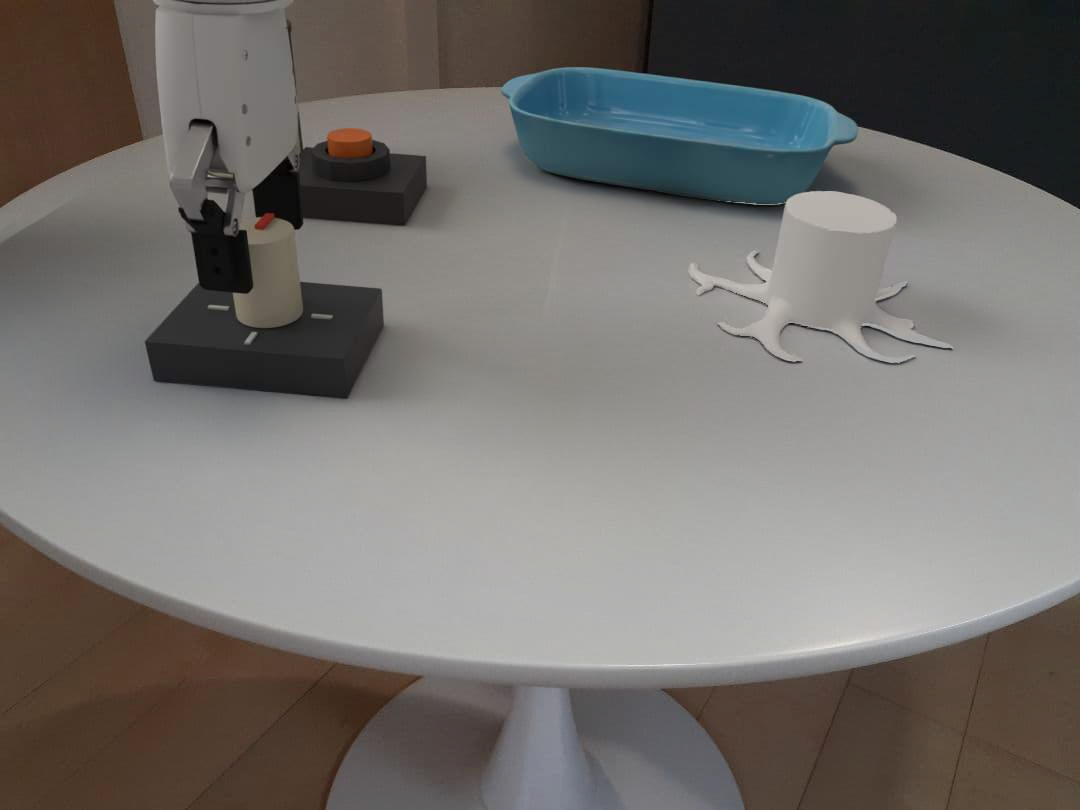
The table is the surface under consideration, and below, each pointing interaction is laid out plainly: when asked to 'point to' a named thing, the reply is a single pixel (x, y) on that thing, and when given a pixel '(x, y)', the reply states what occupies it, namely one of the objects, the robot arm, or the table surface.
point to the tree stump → (821, 270)
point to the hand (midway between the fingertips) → (255, 256)
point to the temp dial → (270, 274)
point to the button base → (361, 185)
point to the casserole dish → (674, 133)
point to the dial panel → (269, 342)
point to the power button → (349, 143)
